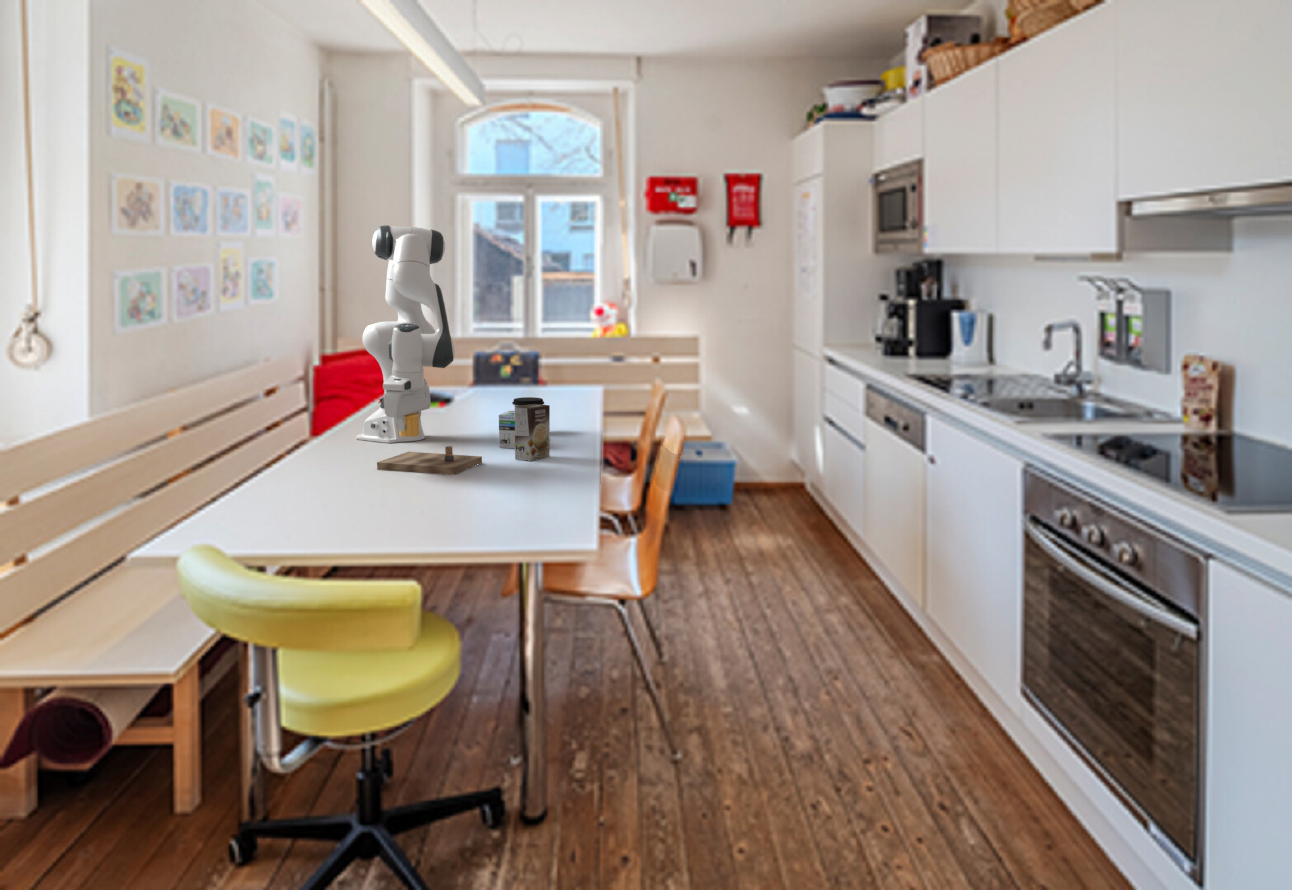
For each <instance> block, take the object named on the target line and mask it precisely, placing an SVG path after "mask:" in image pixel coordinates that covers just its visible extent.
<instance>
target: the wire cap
mask: <svg viewBox="0 0 1292 890" xmlns="http://www.w3.org/2000/svg"><path fill="white" fill-rule="evenodd" d="M404 422H405V424H407V427H406V428H407V430H405V431H399V436H405V437H412V436H418V435H419V414H417V413H412V414H408V415H405V419H404Z"/></svg>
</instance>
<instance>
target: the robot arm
mask: <svg viewBox="0 0 1292 890" xmlns="http://www.w3.org/2000/svg"><path fill="white" fill-rule="evenodd" d="M371 242H372V243H371V245H372V249H373V251H374V254H375V256H376V257H377V258H379V259H381V260H385V261H388V264H387V269H386V279H385V280H386V281H385V282H386V283H385V295H384V296H385V302H386V304H387V306H389V307H390V308H391V309H392V310H394V311H396V314H397V320H395V321H394V320H393V321H392V320H391V321H379V322H375V323H372V324H368V325H367V326H366V327H365V328H364V331H363V333H362V338H361V341H362V344H363V347H364V349H365V350H366V351H367V353H369V354H370V355H371V356H372V357H374V358H375V360H376V361H377V363H378V364H379V367H380V369H381V372H382V378H383V384H382V388H383V389H382V390H384V393H383V397H381V398H380V399H377V404H380V406H379V408H378V409H376V410H375V411H374V412H373V413H372V414H370V415H369V416H368V417H366V419H365V421H364V422H363V427H362V433H359V434H357V435H356V436H355V437H356V438H355V439H356V440H360V441H369V442H378V443H379V442H380V443H387V444H390V443H391V444H392V443H400V442H401V443H402V442H414V441H421V440H424V439H425V438H426V436H425V433H424V430H423V426H422V421H421V420H422V419H421V418H422V417H421V416H422V411H426V410H428V409H430V407H431V404H432V403H431V392H430V391H431V390H430V387H429V385H428V382H427V380H426V379H425V378H424V377H425V376H424V375H425V374H424V368H425V367H426V368H429V367H430V368H436V369H437V368H440V369H445V368H447V367H448V366H449V365H451V364H452V362H453V361H454V360H455V354H456V353H455V352H456V351H455V344H454V341H453V338H452V336H451V333H450V332H451V331H450V326H449V320H448V315H447V309H446V304H445V300H444V296H443V292H442V288H441V287H440V285H439V284H437V283H435V282H434V280H433V279H432V276H431V265H433V264H438V263H439V262H440V261H442V259H443V257H444V255H445V251H446V243H445V240H444V236H443V234H442V233H441V232H440V231H438V230H435V229H427V228H424V227H423V228H422V227H417V226H401V225H400V226H399V225H398V226H395V225H394V226H390V225H379V226H378V227H377V228H376V229H375V232H374V233H373V236H372V241H371ZM422 305H424V306H425V307H427V308H429V309H430V311H431V313H432V316H433V322H434V323H433V324H434V326H435V328H434V326H433V325H432V324H431V323H430V322H429V321H428V320H427V318H426V317H425V315H424V313H423V309H422ZM412 413H417V414H419V435H418V436H412V437H405V436H399V431H405V430H407V428H406V427H407V424H405V422H404V419H405V415H408V414H412Z"/></svg>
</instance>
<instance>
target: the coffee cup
mask: <svg viewBox="0 0 1292 890" xmlns="http://www.w3.org/2000/svg"><path fill="white" fill-rule="evenodd" d="M530 404H542V405H545V401H544V399H543V398H541V397H532V396H531V397H530V396H529V397H517V398H514V399H513V401H512V405H513V406H514V407H515V406H522V405H530Z"/></svg>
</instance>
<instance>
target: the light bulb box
mask: <svg viewBox="0 0 1292 890" xmlns="http://www.w3.org/2000/svg"><path fill="white" fill-rule="evenodd" d="M498 444H499V445H498V446H499V447H500V449H514V448H515V410H508V411H506V412H502V413H501V414H498ZM499 447H498V448H499Z"/></svg>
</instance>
